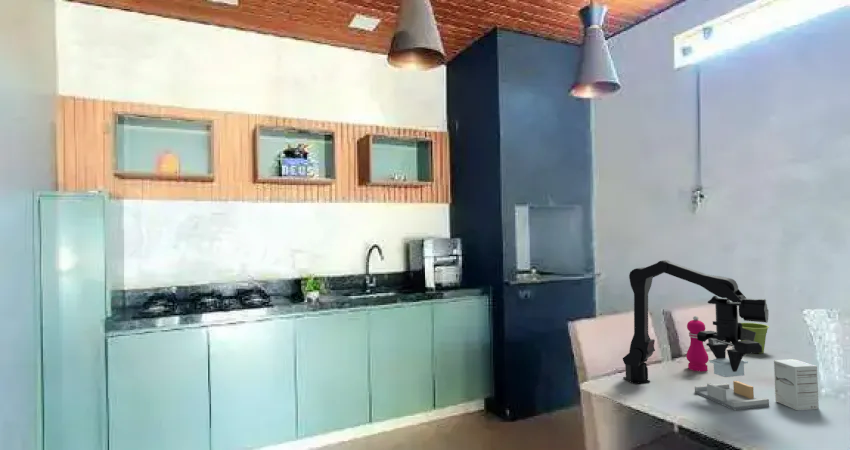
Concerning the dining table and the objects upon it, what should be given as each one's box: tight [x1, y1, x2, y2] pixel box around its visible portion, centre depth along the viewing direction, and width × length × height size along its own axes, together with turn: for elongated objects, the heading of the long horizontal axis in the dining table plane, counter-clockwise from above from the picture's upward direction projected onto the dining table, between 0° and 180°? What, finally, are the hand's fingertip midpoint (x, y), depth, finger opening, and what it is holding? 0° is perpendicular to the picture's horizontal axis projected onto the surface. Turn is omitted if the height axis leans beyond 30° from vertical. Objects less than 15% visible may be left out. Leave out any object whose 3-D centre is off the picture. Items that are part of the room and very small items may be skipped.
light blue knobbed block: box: [708, 357, 749, 378], centre depth 141 cm, size 10×4×5 cm, turn 100°
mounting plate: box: [694, 380, 770, 411], centre depth 141 cm, size 12×15×4 cm
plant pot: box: [740, 322, 770, 354], centre depth 194 cm, size 12×12×11 cm
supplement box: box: [773, 358, 820, 411], centre depth 135 cm, size 7×7×13 cm
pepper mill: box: [685, 315, 710, 372], centre depth 172 cm, size 7×7×20 cm
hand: (728, 369), depth 141 cm, fingers closed on light blue knobbed block, 4 cm apart
